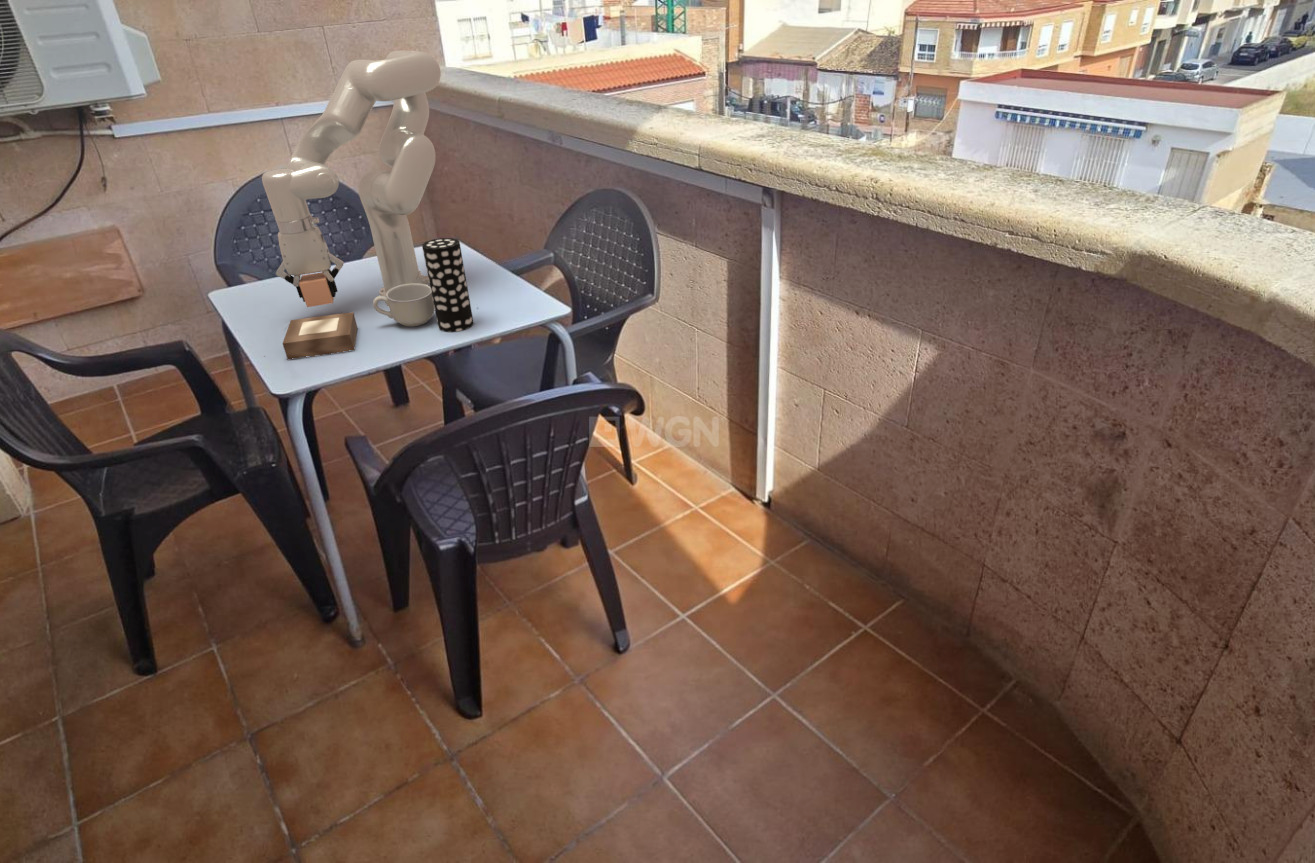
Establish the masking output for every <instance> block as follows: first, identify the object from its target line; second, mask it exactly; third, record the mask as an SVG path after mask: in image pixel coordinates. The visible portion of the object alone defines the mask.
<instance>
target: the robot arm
mask: <svg viewBox="0 0 1315 863" xmlns="http://www.w3.org/2000/svg"><path fill="white" fill-rule="evenodd" d="M439 64H440V63H438V61H437V60H436V58H435V57H434V56H433V55H431V54H430V53H428V52H425V51H420V50H400V49H399V50H394V51H391V52H389V53H388V54H387V55H386V57H385V58H384V59H380V60H379V59H378V60H376V59H375V60H374V59H355V60H352V61H350V62H349V63H348V64H347V66H346V67H345V69H344V70H343V72H342V75H341V76H340V78H339V81H338V82H337V84H336V87H335V89H334V91H333V92H332V95H331V97H330V99H329V100H328V102H327V105H326V107H325V109H324V111H323V113H322V114H321V115H320V117H318V118H317V119H316V120H315V121H314V123H313V124H312V125H311V126H310V127H309V128H308V129H307V131H305V133H304V134H303V135H302V136H301V138H300V139H299V141H298V142H297V144H296V145H295V147H294V150H293V152H292V154H291V156H290V158H289V160H288V163H287V166H286V168H278V169H277V168H276V169H271V170H268V171H266V172H264V173H263V174H262V175H261V182H262V185H263V188H264V191H265V194H266V197H267V200H268V202H269V204H270V208H271V211H272V214H273V217H274V220H275V222H276V225H277V228H278V230H279V231H278V233H277V240H278V244H279V245H278V246H279V250H280V254H281V259H282V262H281V264H280V265H279V267H278V268H277V270H276V272H275V275H276V276H278V277H280V278H281V279H282V280H285V281H286V282H287V283H290V284H291V285H293V286H294V287H295V288H296V291H297V294H298V297H299V299H302V301H303V302H305V300H304V297H303V294H302V291H301V288H300V286H299V282H300V279H301V276H302V275H308V274H315V273H321V272H323V274H324V275H325V276H326V277H327V279H328V286H329V289H330V292H331V295H332V297H334V298H336V295H337V293H338V287H337V284H336V281H335V279H336V277H337V276H338V273H340V270H342V268H343V267H344V264H345V262H344V261H343V260H342V259H340V258H338V257H337V256H335V255H334V254H332V253H331V252H330V251H329V247H328V245H327V242H326V241H325V238H324V236H323V234H322V231H321V230H320V228H319V226H318V225H317V224H319V223H320V219H319V217H318V216H315V217H314V216H312V214H311V213H310V212H311V211H310V210H309V206H308V203H307V200H312V199H323V198H327V197H330V196H332V195H333V194H335V193H336V192H337V190H338V189H339V185H340V181H339V176H338V175H337V172H335V170H334V169H333V168H332V167H330V166H328V165H326V163H327V160H328V159H330V156H331V155H332V154H333V153H334V152H335V151H336V150H337V149H338V148H341V147H342V146H343V145H345V144H347V143H349V142H352V141H354V139H356V138H358V136H360V134H361V132H362V130H363V129H364V127H365V123H366V121H367V120H368V117H369V115H370V114H371V112H372V109H373V108H374V106H375V103H376V102H390V101H393V107H392V110H391V114H390V117H389V119H388V121H387V124H386V125H385V129H384V131H383V134H382V136H381V139H380V142H379V144H378V145H379V146H378V149H377V150H378V156H379V158H380V160H381V162H383V164H384V165H386V166H387V167H389V168H391V171H388V170H384V169H372V170H368V171H366V172H365V173H364V174H363V175H362V176H361V178H360V179H359V182H358V186H357V187H358V188H357V189H358V190H357V191H358V195H359V199H360V202H361V205H362V207H363V209H364V212H365V214H366V217H367V220H368V224H369V226H370V227H369V228H370V232H371V236H372V240H373V241H372V242H373V245H374V248H375V253H376V257H377V262H378V265H379V271H380V275H381V278H382V283H383V287H381V288H380V289H379V296H384V297H386V293H387V292H388V290H390V289H391V288H393V287H396V286H399V285H404V284H411V283H419V284H425V285H430V283H429V278H428V275H424V274H422V272H421V270H419V266H418V261H417V256H416V251H415V247H414V242H413V237H412V233H411V226H410V223H409V220H408V216H407V215H410V214H412V213H413V212H415V210H416V209H417V208H418V207H419V205H420V203H421V201H422V199H423V197H424V193H425V191H426V188H427V186H428V184H429V181H430V178H431V176H432V173H433V171H434V168H435V164H436V150H435V146H434V144H433V142H432V141H431V139H430V138H429V137H427V136H426V135H425V132H426V128H427V124H428V122H429V117H430V106H429V100H428V97H427V94H426V93H428V92H430V91H433V90H434V89H435V88H436V87H437V86H438V84H439V83H440V80H441V76H442V74H441V67H440V65H439ZM315 225H316V226H315ZM332 263H333V264H335V266H334V267H333V268H332V270H331V267H332V265H331V264H332ZM285 270H286V272H285Z"/></svg>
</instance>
